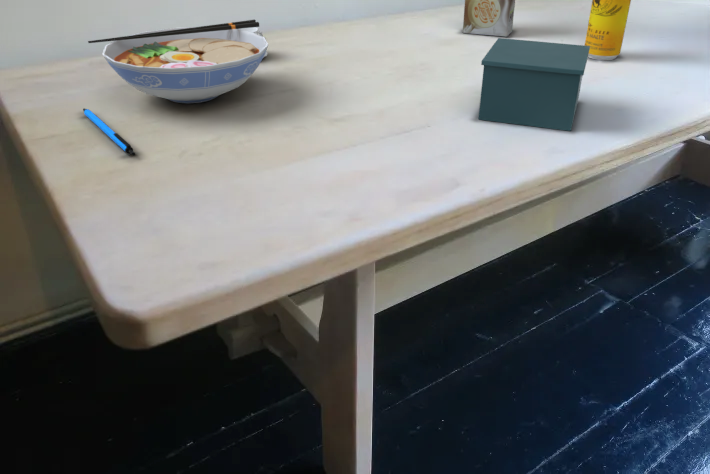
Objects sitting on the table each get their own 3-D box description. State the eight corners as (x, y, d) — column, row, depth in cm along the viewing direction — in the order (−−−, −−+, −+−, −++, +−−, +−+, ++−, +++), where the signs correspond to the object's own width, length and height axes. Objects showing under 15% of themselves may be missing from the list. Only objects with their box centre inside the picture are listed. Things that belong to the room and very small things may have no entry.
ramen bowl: (115, 135, 83) (103, 71, 79) (94, 84, 101) (83, 30, 97) (301, 107, 93) (299, 49, 89) (251, 65, 111) (247, 15, 106)
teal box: (580, 102, 95) (590, 45, 91) (573, 132, 85) (584, 70, 81) (492, 92, 99) (498, 37, 95) (475, 120, 89) (481, 60, 85)
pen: (130, 158, 77) (128, 149, 76) (80, 112, 90) (79, 104, 90) (137, 156, 77) (136, 147, 77) (87, 111, 91) (85, 103, 90)
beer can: (575, 53, 118) (590, -37, 110) (602, 50, 120) (619, -39, 112) (598, 62, 113) (616, -32, 105) (626, 58, 115) (646, -34, 107)
